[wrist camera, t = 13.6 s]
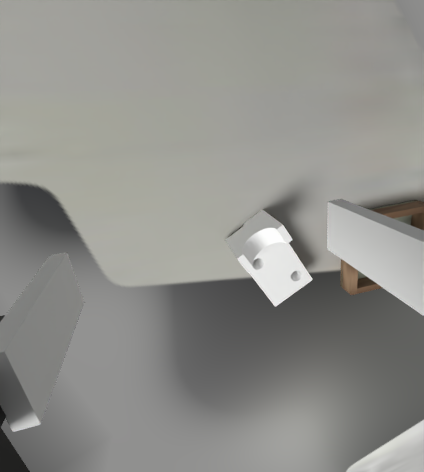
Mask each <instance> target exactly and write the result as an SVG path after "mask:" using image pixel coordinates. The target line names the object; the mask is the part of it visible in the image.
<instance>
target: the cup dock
mask: <svg viewBox="0 0 424 472" xmlns="http://www.w3.org/2000/svg"><path fill="white" fill-rule="evenodd" d="M369 210H372V211H374V212H377V213H379V214H382V215H385V216H387V217H390V218H393V219H395V220H398V221H400V222H403V223H406V224H408V225H411V226H413V227H416V228H419V229H421V230H424V202H421V201H417V200H414V201H409V202H404V203H399V204H394V205H389V206H383V207H378V208H373V209H369ZM340 286H341V287H342V288H343V289H344V290H346V291H347V292H348V293H349V294H350V295H354V294H358V293H362V292H367V291H371V290H375V289H379V288H383V287H381V286H380V285H378V284H377V283H375V282H374V281H373V280H371V279H370V278H368V277H367V276H365V275H364V274H362V273H361V272H360V271H358V270H357V269H355V268H354V267H352V266H351V265H349V264H348V263H347V262H345V261H344V260H342V259H341V281H340Z"/></svg>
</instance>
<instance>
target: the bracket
mask: <svg viewBox="0 0 424 472" xmlns="http://www.w3.org/2000/svg"><path fill="white" fill-rule="evenodd" d="M243 225H244V226H243V227H242V228H240V229H239V230H238V231H236V232H235V233H234V234H232V235H231V236H230V237H228V238H227V239H226V240H225V241H226V243H227V244H228V246H229V247H230V249H231V250H232V252H233V253H234V255H235V256H236V258H237V259H238V261H239V262H240V263H241V264H242V266H243V267H244V268H245V270H246V271H247V272H249V273H250V275H251V276H252V277H253V278H254V280H255V281H256V282H257V284H258V285H259V286H260V288H261V289H262V290H263V291H264V292H265V294H266V295H267V297H268V298H269V299H270V300H271V302H272V303H273V304H274V306H275V307H276V306H277V305H278V304H280V303H281V302H282V301H284V300H285V299H287V298H288V297H289V296H291V295H292V294H293V293H295V292H296V291H297V290H299V289H300V288H302V287H303V286H305V285H306V284H307V283H308V282H310V281H311V280H312V278H311V276H310V275H309V273H308V272H307V270H306V268H305V267H304V265H303V264H302V262H301V261H300V259H299V258H298V256H297V255H296V253H295V252H294V250H293V249H292V247H291V246H290V244H289V242H290V241H292V240H293V239H292V238H291V236H290V235H289V233H288V232H287V230H286V228H285V227H284V225H283V224H281V223H280V222H279V221H277V220H276V219H275V218H273V217H272V216H271V215H269V214H268V213H266V212H265V211H264V210H261V211H260V212H259V213H257V214H256V215H255V216H253V217H252V218H251V219H249V220H248V221H247V222H245V223H244V224H243ZM255 259H257V260H256V261H254V260H255ZM253 261H254V262H253Z"/></svg>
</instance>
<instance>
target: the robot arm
mask: <svg viewBox="0 0 424 472" xmlns="http://www.w3.org/2000/svg"><path fill="white" fill-rule="evenodd" d="M327 249H328V250H329V251H331V252H332V253H333V254H335V255H336V256H338V257H339V258H341V259H342V260H344V261H345V262H347V263H348V264H349V265H351V266H352V267H354V268H355V269H357V270H358V271H360V272H361V273H362V274H364V275H365V276H367V277H368V278H370V279H371V280H373V281H374V282H375V283H377V284H378V285H380V286H381V287H383V288H384V289H386V290H387V291H388V292H390V293H392V294H393V295H394V296H396V297H397V298H399V299H400V300H402V301H403V302H404V303H406V304H407V305H409V306H410V307H412V308H413V309H415V310H416V311H418V312H419V313H421V314H422V315H423V316H424V230H421V229H419V228H416V227H413V226H411V225H408V224H406V223H403V222H400V221H398V220H395V219H393V218H390V217H387V216H385V215H382V214H379V213H377V212H374V211H372V210H369V209H366V208H364V207H361V206H358V205H356V204H353V203H351V202H348V201H345V200H343V199H338V200H333V201H328V225H327ZM83 305H84V299H83V296H82V294H81V291H80V288H79V285H78V282H77V279H76V276H75V273H74V270H73V268H72V265H71V262H70V259H69V256H68V253H67V252H66V253H61V254H55V255H50V256H49V258H48V259H47V260H46V262H45V263H44V264H43V266H42V267H41V268H40V270H39V271H38V272H37V274H36V275H35V276H34V278H33V279H32V280H31V282H30V283H29V284H28V286H27V287H26V288H25V290H24V291H23V292H22V294H21V295H20V296H19V298H18V299H17V300H16V302H15V303H14V304H13V306H12V307H11V308H10V310H9V311H8V312H7V314H6V315H4V316H0V472H30V471H29V470H28V468H27V467H26V465H25V464H24V462H23V461H22V460H21V458H20V456H19V455H18V453H17V452H16V450H15V449H14V447H13V446H12V444H11V442H10V441H9V439H8V438H7V436H6V435H5V433H4V432H3V430H2V429H1V425H2V423H3V421H4V419H5V418H6V420H7V422H8V424H9V425H10V427H11V429H12V431H13V432H14V431H18V430H22V429H26V428H30V427H33V426H37V425H40V424H41V422H42V420H43V417H44V414H45V411H46V408H47V405H48V402H49V400H50V397H51V394H52V391H53V388H54V386H55V383H56V380H57V378H58V375H59V372H60V369H61V366H62V364H63V361H64V358H65V355H66V352H67V350H68V347H69V344H70V341H71V338H72V335H73V333H74V330H75V327H76V324H77V322H78V319H79V316H80V313H81V310H82V307H83Z"/></svg>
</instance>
